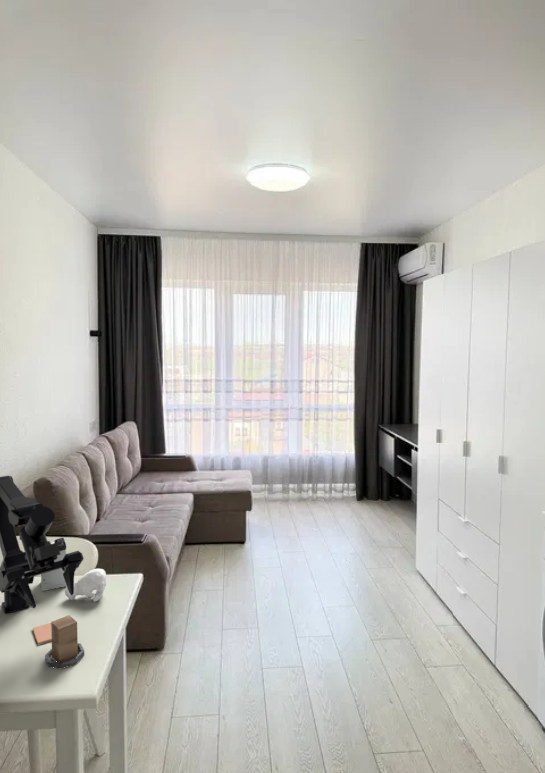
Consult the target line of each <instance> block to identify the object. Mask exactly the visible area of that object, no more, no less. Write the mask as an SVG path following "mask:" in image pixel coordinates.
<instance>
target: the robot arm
mask: <svg viewBox="0 0 545 773" xmlns="http://www.w3.org/2000/svg"><path fill="white" fill-rule="evenodd" d="M55 517H56V515H55V512H54V510H52V509H51V508H50V507H48V506H44V505H43V503H42V502H39V503H38V501H37V500H35V499H34V498H31V497H27V496H25V495H24V494H23V492H22V491H21V490H20V488H19V487H18V486H17V484H15V482H14V479H13V476H12V475H5V476H3V475H2V476H0V551H1V556H2V561H1V563H0V593H1V594H3V600H4V601H2V602H1V606H2V610H3V613H4V614H9V613H13V612H16V611H20V610H24V609H28V608H30V606H31V608H32V609H36V608H37V604H36V603H37V602H36V599H35V597H34V595H33V591H32V590H31V586H30V584H34V579H35V577H36V576H37V577H38V576H41V574H44V573H47V572H50V571H53V570H57V569H60V568H62V570H63V571H65V572H64V573H63V576H64V579H65V582H66V585H67V588H68V590H69V593H70V594H71V595H73V594H74V583H75V572H76V570H77V569H78V568H79V567H80V565H81V563H82V562H83V561H84V558H85V557H84V555H83V553H82V552H81V551H79V550H76V551H72V552H69V553H66V555H65V556H64V558H63V560H60V561H57V562H54V560H56V559H57V555H60V551H63V550H65V549H66V550H67V542H66V543H65V541H66V540H65V538H64V537H60V538H56V539H55V540H54V542H55V543H53V542H51V541H50V540H48V539H47V538H48V537H47V536H46V534H47V533H48V532H49V530H50V528H51V526H52V524H53V522H54V520H55ZM21 526H23V527H22V528H21V530H20V531H19V534H18V535H19V540H18V538H17V534H16V530H15V528H18V527H21ZM19 541H21V543H22V546H23V550H22V549H21V548H20V544H19ZM51 543H53V544H51Z"/></svg>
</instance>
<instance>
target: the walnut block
mask: <svg viewBox="0 0 545 773" xmlns="http://www.w3.org/2000/svg"><path fill="white" fill-rule="evenodd" d="M50 623H51V632H52V641H51V649H52V656H51V658H52V659H53V661H57V662H64V661H67V660H70V659H73V658H75V657H76V656H77V655H78V654H79V653H78V652H79V649H78V621H76V620H75V619H74V618H73V617H72V616H71V615H70V614H69V615H66V616H64V617H61V618H58V619H55V620H52V621H51V622H50Z"/></svg>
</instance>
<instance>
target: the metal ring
mask: <svg viewBox="0 0 545 773" xmlns="http://www.w3.org/2000/svg"><path fill="white" fill-rule="evenodd" d="M78 652H79V653H78V655H77V656H76V657H75V658H73V659H70V660H67V661H64V662H56V661H55V660H51V658H52V648H50V650H49V651H48V652H47V653H45V656H44V660H45V662H46V665H47V668H52V669H59V668H62V669H65V668H68V667H71V666H75V665H77V664H76V663H77V662H78V661H79V662H80V661H81V659H82V658H83V657H84V656H85V649H84V647H83V645H82V643H80V642H79V643H78ZM79 662H78V663H79ZM70 665H71V666H70ZM67 666H68V667H67ZM53 667H54V668H53ZM64 667H65V668H64Z"/></svg>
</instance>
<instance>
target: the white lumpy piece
mask: <svg viewBox="0 0 545 773" xmlns="http://www.w3.org/2000/svg"><path fill="white" fill-rule="evenodd" d="M106 580H107V574H106V571H105V569H103V568H94V569H90V570H88V571H87V572H86V573H84V574H83V575H82V576H81V577H80V578H79V579H78V580H77V581H75V582H74V594H73V595H71V594H70V593H69V590H68V588H67V587H65V590H64V596H66V598H68V599H69V600H70V599H71V601H73V602H74V600H75V599H76V597H77V596H85V597H88V598H93V602H97V601H98V600H100V599H101V597H102V596H103V594H104V591H105V589H106V586H107V581H106ZM94 591H95V593H94Z"/></svg>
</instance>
